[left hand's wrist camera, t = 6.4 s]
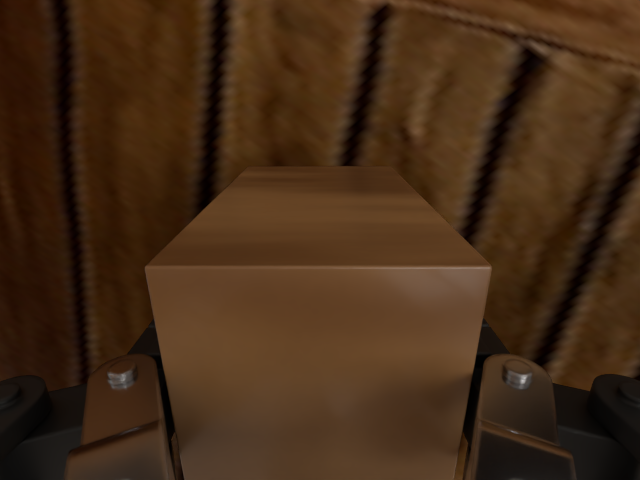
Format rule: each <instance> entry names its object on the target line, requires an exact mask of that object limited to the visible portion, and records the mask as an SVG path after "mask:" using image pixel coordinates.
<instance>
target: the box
mask: <svg viewBox="0 0 640 480" xmlns="http://www.w3.org/2000/svg"><path fill="white" fill-rule="evenodd" d="M491 271H492V266H491V265H490V264H489V263H488V262H487V261H486V260H485V259H484V258H483V257H482V256H481V255H480V254H479V253H478V252H477V251H476V250H475V249H474V248H473V247H472V246H471V245H470V244H469V243H468V242H467V241H466V240H465V239H464V238H463V237H462V236H461V235H460V234H459V233H458V232H457V231H456V230H455V229H454V228H453V227H452V226H451V225H450V224H449V223H448V222H447V221H446V220H445V219H443V218H442V217H441V216H440V215H439V214H438V213H437V212H436V211H435V210H434V209H433V208H432V207H431V206H430V205H429V204H428V203H427V202H426V201H425V200H424V199H423V198H422V197H421V196H420V195H419V194H418V193H417V192H416V191H415V190H414V189H413V188H412V187H411V186H410V185H409V184H408V183H407V182H406V181H405V180H404V179H403V178H402V177H401V176H400V175H399V174H398V173H397V172H396V171H395V170H394V169H393V168H392V167H391V166H248V167H247V168H246V169H245V170H244V171H243V172H242V173H241V174H240V175H239V176H238V177H237V178H236V179H235V180H234V181H233V182H232V183H230V184H229V185H228V186H227V187H226V188H225V189H224V190H223V191H222V192H221V193H220V194H219V195H218V196H217V197H216V198H215V199H214V200H213V201H212V202H211V203H210V204H209V205H208V206H207V207H206V208H205V209H204V210H203V211H202V212H201V213H200V214H198V215H197V216H196V217H195V218H194V219H193V220H192V221H191V222H190V223H189V224H188V225H187V226H186V227H185V228H184V229H183V230H182V231H181V232H180V233H179V234H178V235H177V236H176V237H175V238H174V239H173V240H172V241H171V242H170V243H169V244H168V245H167V246H165V247H164V248H163V249H162V250H161V251H160V252H159V253H158V254H157V255H156V256H155V257H154V258H153V259H152V260H151V261H150V262H149V263H148V264H147V265H146V266H145V273H146V279H147V284H148V289H149V295H150V300H151V305H152V311H153V316H154V321H155V326H156V332H157V337H158V342H159V348H160V353H161V358H162V364H163V369H164V374H165V379H166V385H167V390H168V395H169V401H170V406H171V411H172V416H173V422H174V427H175V432H176V438H177V443H178V448H179V454H180V459H181V464H182V469H183V475H184V480H454V474H455V469H456V463H457V458H458V452H459V447H460V441H461V436H462V430H463V425H464V419H465V414H466V408H467V403H468V397H469V392H470V386H471V381H472V375H473V370H474V364H475V359H476V353H477V348H478V342H479V337H480V331H481V326H482V320H483V315H484V309H485V304H486V298H487V293H488V287H489V282H490V276H491Z"/></svg>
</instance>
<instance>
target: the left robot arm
mask: <svg viewBox="0 0 640 480" xmlns="http://www.w3.org/2000/svg"><path fill="white" fill-rule="evenodd" d="M462 431H463V432H464V435H465V437H466V439H467V442H468V447H467V452H466V459H465V466H464V473H463V480H640V381H638V380H636V379H633V378H630V377H626V376H621V375H615V374H604V375H600V376H598V377H596V378H595V379H594V381H593V384H592V387H591V390H590V391H586V390H581V389H577V388H572V387H568V386H563V385H558V384H554V383H552V380H551V378H550V376H549V375H548V373H547V372H546V371H545V370H544V369H543V368H541V367H540V366H539V365H537V364H536V363H534V362H532V361H530V360H528V359H526V358H523V357H520V356H517V355H512V354H510V353H509V352H508V350H507V349H506V348H505V346H504V345H503V344H502V342H501V341H500V339H499V338H498V337H497V335H496V334H495V333H494V331H493V330H492V329H491V327H489V325H488V323H487V322H486V321H485V319H484V318H483V320H482V326H481V331H480V337H479V342H478V348H477V353H476V359H475V364H474V370H473V375H472V381H471V386H470V392H469V397H468V403H467V408H466V414H465V419H464V425H463V430H462ZM174 432H175V427H174V422H173V416H172V411H171V406H170V401H169V395H168V390H167V385H166V379H165V374H164V369H163V364H162V358H161V353H160V348H159V342H158V337H157V332H156V326H155V321H154V319H153V320H152V322H151V323H150V324H149V328H146V330H145V331H144V333H143V334H142V335H141V337H140V338H139V339H138V341H137V342H136V343H135V345H134V346H133V347H132V349H131V350H130V351H129V353H128V354H127V355H123V356H120V357H117V358H114V359H112V360H110V361H108V362H106V363H104V364H103V365H101V366H100V367H99V368H97V369H96V370H95V371H94V372H93V373H92V375H91V376H90V378H89V379H88V383H86V384H82V385H78V386H73V387H69V388H64V389H60V390H55V391H50V392H48V390H47V387H46V384H45V381H44V380H43V379H42V378H40V377H38V376H33V375H26V376H18V377H13V378H10V379H6V380H4V381H1V382H0V480H177V473H176V466H175V459H174V452H173V447H172V442H171V438H172V436H173V434H174Z"/></svg>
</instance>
